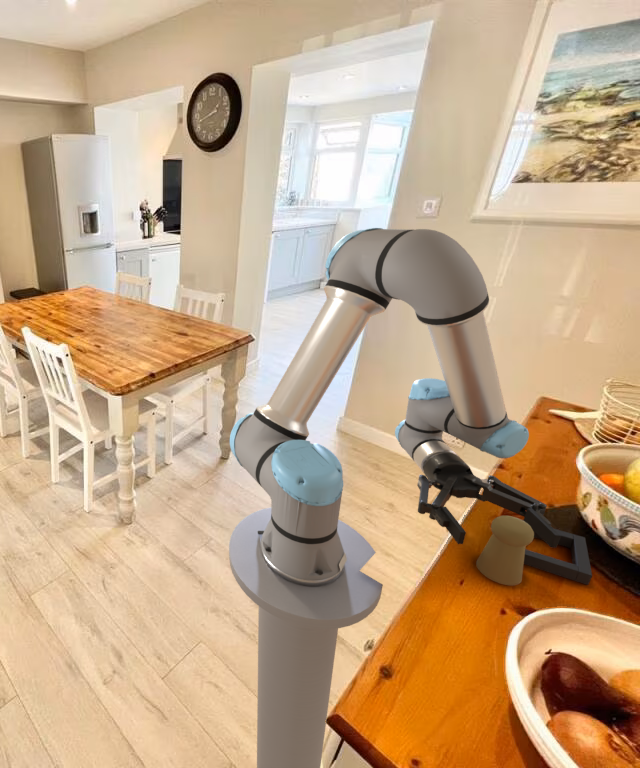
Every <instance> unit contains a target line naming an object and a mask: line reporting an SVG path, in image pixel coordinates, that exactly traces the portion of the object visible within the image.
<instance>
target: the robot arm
mask: <svg viewBox="0 0 640 768" xmlns="http://www.w3.org/2000/svg"><path fill="white" fill-rule="evenodd" d="M324 267H325V269H326V271H325V277H326V279H327V282H326V283H325V285H324V286H323V290H324V293H325V296H326V300H325V302H324V303H323V304H322V307H321V309H320V310H319V312H318V314H317V315H316V317H315V319H314V321H313V323H312V325H311V326H310V328H309V330H308V332H307V333H306V335H305V336H304V338H303V340H302V342H301V344H300V346H299V347H298V349H297V350H296V352H295V354H294V356H293V357H292V359H291V361H290V363H289V365H288V367H287V368H286V369H285V372H284V373H283V376H282V377H281V379H280V381H279V382H278V384H277V386H276V388H275V390H274V391H273V393H272V395H271V397H269V400H268V402H267V403H265V404H261V405H257V407H256V408H255V410H254V411H253V412H250V413H248V414H246V415H245V416H244V417H240V418H239V419H238V420H237V421H236V422H235V424H234V425H233V427H232V429H231V432H230V434H229V447H230V451H231V453H232V455H233V457H235V459H236V461H237V462H238V464H239V465H240V466H241V468H243V469H244V470H245V471H246V472H247V473H248V474H249V475H250V476H251V477H252V478H253V480H254V481H255V482H256V483H257V484H258V485H259V486H260V487H261V488H262V490H264V491H265V493H266V494H267V495H268V496H269V498H270V500H271V501H270V502H271V503H270V504H271V506H270V508H271V519H270V521H269V523H268V525H267V527H266V529H265V531H258V534H263V535H262V539H261V553H262V557H263V559H264V561H265V563H266V564H267V566H268V567H269V568H270V569H271V570H272V571H273V572H274V573H275V574H277V575H278V576H280V577H281V578H283V579H285V580H287V581H289V582H291V583H294V584H298V585H302V586H308V587H318V586H324V585H328V584H330V583H332V582H334V581H335V580H337V579H338V578H339V577H340V576H341V574H342V572H343V569H344V565H345V563H346V561H347V558H346V554H345V553H344V550H343V547H342V543H341V541H340V538H339V535H338V532H337V526H338V520H339V518H340V511H341V502H342V496H343V490H344V489H343V488H344V479H343V478H344V477H343V475H344V474H343V466H342V464H341V461H340V459H339V458H338V457H337V455H336V454H335V453H334V452H332V451H331V450H330V449H329V448H327V447H326V446H324V445H322V444H320V443H317V442H314V443H311V441H310V440H307V439H308V437H309V435H310V432H309V429H308V426H307V425H308V424H307V423H308V422H309V420H310V418H311V417H312V416H313V413H314V412H315V410H316V409H317V407H318V405H319V403H320V402H321V400H322V398H323V397H324V395H325V394H326V392H327V391H328V389H329V387H330V385H331V383H332V382H333V380H334V378H335V377H336V376H337V374H338V372H339V371H340V369H341V368H342V365H343V364H344V362H345V360H346V359H347V357H348V355H349V354H350V352H351V351H352V349H353V347H354V345H355V344H356V342H357V341H358V339H359V337H360V335H361V334H362V332H363V330H364V329H365V327H366V325H368V322H369V321H370V319H371V318H372V317H373V316H376V315H380V314H382V313H384V312H385V311H386V310H387V308H388V306H389V305H390V303H391V301H392V300H393V299H394V300H398V301H402V302H404V303H406V304H408V305H409V306H410V307H411V308H412V309H413V310H414V312H415V316H416V318H417V320H418V322H420V323H421V324H423V325H425V326H426V327H427V330H428V332H429V336H430V338H431V341H432V346H433V347H434V348H433V349H434V351H435V355H436V357H437V361H438V363H439V364H438V365H439V367H440V370H441V373H442V376H443V379H444V380H443V379H438V378H432V377H431V378H430V377H427V378H421V379H416V380H415V381H414V382H413V383H412V384H411V388H410V392H409V395H408V400H407V406H406V413H405V419H403V420H402V421H400V422H399V424H398V425H397V426H396V427H395V430H394V436H395V438H396V440H397V442H398V443H399V445H400V447H401V448H402V449H403V450H405V452H406V453H407V454H408V456H409V457H410V458H411V459H412V461H413V462H414V463H415V464H416V466H417V467H418V468H419V469H420V471H421V472H422V473H423V474H419V475H418V480H417V484H416V485H417V487H418V489H419V497H418V504H417V513H419V514H420V515H425V514H429V515H428V518H429V519H430V520H433V521H436V522H437V524H438V525H439V526H440V527H441V528H445V529H446V530H447V532H448V533H449V534H450V536H451V537H452V538H453V540H455V542H456V543H457V545H464V542H465V539H466V535H467V531H466V530H465V529H464V527H463V526H462V525H461V524H460V523H459V521H458V520H457V519H456V517H455V516H454V515H453V514H452V512H451V510H449V508H448V507H447V506H446V503H447V502H449V500H450V499H451V497H454V498H456V499H464V498H467V499H476V500H478V501H481V502H488V503H490V504H492V505H495V506H498V507H500V508H502V509H505V510H507V511H510V512H512V513H513V514H516V515H519V516H521V517H523V520H524V521H525V522H526V523H528V524H529V525H530V526H531V528H532V529H533V530H534V531H535V532H536V533H537V534H538V535H539V536H540V537H541V538H542V539H543V540H542V541H544V543H546V545H547V546H549V547H550V549H557V547H558V546H559V545H558V542H559V540H560V538H561V535H560V534H559V533H558V532H557V531H556V530H557V529H556V528H554V527H552V522H551V521H550V520H549V519H548V518H546V516H544V515H545V512H546V509H547V507H548V506H547V504H546V503H544V502H542V501H540V500H539V499H536V498H534V497H533V496H530V495H529V494H526V493H525V492H522V491H521V490H519V489H516V488H514V487H513V486H510V485H509V484H507V483H506V482H502V481H501V479H499V478H497V477H496V476H495V475H491V474H490V475H488V476H487V478H482V479H481V478H480V477H478V476H476V475H474V473H473V471H472V470H471V467H470V466H469V465H468V464H467V462H466V461H464V459H462V458H461V457H460V455H458V453H456V452H455V451H454V449H453V448H452V447H450V445H448V444H447V442H446V441H444V440H443V434H444V433H446V434H448V435H450V436H452V437H454V438H456V439H458V440H459V441H462V442H464V443H465V444H468V445H470V446H472V447H474V448H475V449H478V450H479V451H480V452H481V453H482V452H483V453H486V454H489V455H491V456H493V457H495V458H498V459H510V458H513V457H515V456H516V455H518V453H520V452H521V451H522V450H523V449H524V448H525V446H526V445H527V443H528V441H529V437H530V432H529V430H528V428H527V427H526V426H525V425H523V424H521V423H519V422H517V421H516V420H515V419H513V420H512V419H510V418H509V417H508V413H507V408H506V404H505V400H504V397H503V396H504V395H503V391H502V387H501V382H500V377H499V373H498V369H497V366H496V365H497V364H496V361H495V356H494V352H493V348H492V344H491V339H490V335H489V329H488V327H487V322H486V318H485V314H484V313H485V312H484V311H485V310H486V309H487V308H488V307H489V304H490V297H489V293H488V288H487V285H486V281H485V278H484V276H483V274H482V272H481V270H480V268H479V267H478V265H477V263H476V262H475V260H474V259H473V257H472V256H471V255H470V253H468V251H467V250H466V249H465V248H464V247H463V245H461V244H460V243H459V242H458V241H457V240H456V239H454V238H452V237H451V236H450V235H448V234H446V233H443V232H441V231H438V230H435V229H428V228H416V229H404V228H403V229H402V228H400V229H397V228H395V229H394V228H382V227H371V228H366V229H359V230H355V231H352V232H350V233H348V234H345V236H342V238H341V239H339V240H338V241H337V242H336V243H335V244H334V246H333V247H332V249H331V250H330V251H329V252H328V255H327V258H326V261H325V266H324ZM432 486H433V488H435V489H437V490H439V492H438V493H437V496H435V498H434V500H433V501H432V503H429V501H428V500H429V491H430V489H432ZM481 489H483V491H482V494H480V492H481ZM555 529H556V530H555Z"/></svg>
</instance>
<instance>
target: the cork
mask: <svg viewBox="0 0 640 768" xmlns="http://www.w3.org/2000/svg"><path fill="white" fill-rule="evenodd" d="M523 520H524V519H521V518H519V517H516V516H511V515H498V516H497V517H495V518H494V519H493V520H492V521H491V523H490V531H491V533H492V534H491V536H490V537H489V539H488V541H487V543H486V544H485V546H484V548H483V549H482V551H481V553H480V554H479V556H478V557H477V560H476V562H475V565H476V568H477V570H478V571H479V572H480V573H481V574H482V575H483V576H484V577H486V578H487V579H489V580H490V581H493V582H495V583H498V584H501V585H505V586H518V585H520V584H521V583H522V582H523V581H522V580H523V574H524V573H523V572H524V565H525V564H524V556H525V549H526V547H527V546H529V545H530V544H531V543H533V541H534V539H535V538H534V532H533V530H532V528H531V526H530V525H529V524H528V523H526V522H525V521H523Z"/></svg>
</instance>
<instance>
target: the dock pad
mask: <svg viewBox="0 0 640 768" xmlns="http://www.w3.org/2000/svg"><path fill="white" fill-rule="evenodd" d="M522 520H523V521H524V519H522ZM554 529H555V530H556V531H557V532H558V533H559V534H560V535H561V538H560V540H559V542H558V545H557V546H561V547H565V548H568V549H570V556H571V562H572V563H571V562H568V561H565V560H562V559H559V558H558V559H557V558H555V557H552V556H549V555H545V554H542V553H539V552H536V551H533V550H530V549H527V548H525V556H524V564H523V565H526V566H529V567H532V568H535V569H537V570H541V571H544V572H547V573H550V574H553V575H556V576H559V577H562V578H565V579H568V580H571V581H574V582H577V583H581V584H584V585H585V586H588V585H589V584H590V582H591V580H592V578H593V573H592V567H591V562H590V556H589V552H588V546H587V540H586V537H585V536H581V535H578V534H574V533H570V532H567V531H563V530H560V529H556V528H554ZM532 530H533V529H532ZM533 532H534V538H533V539H538V540H542V541H544V540H543V539H542V538H541V537H540V536H539V535H538V534H537V533H536V532H535V531H534V530H533Z"/></svg>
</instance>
